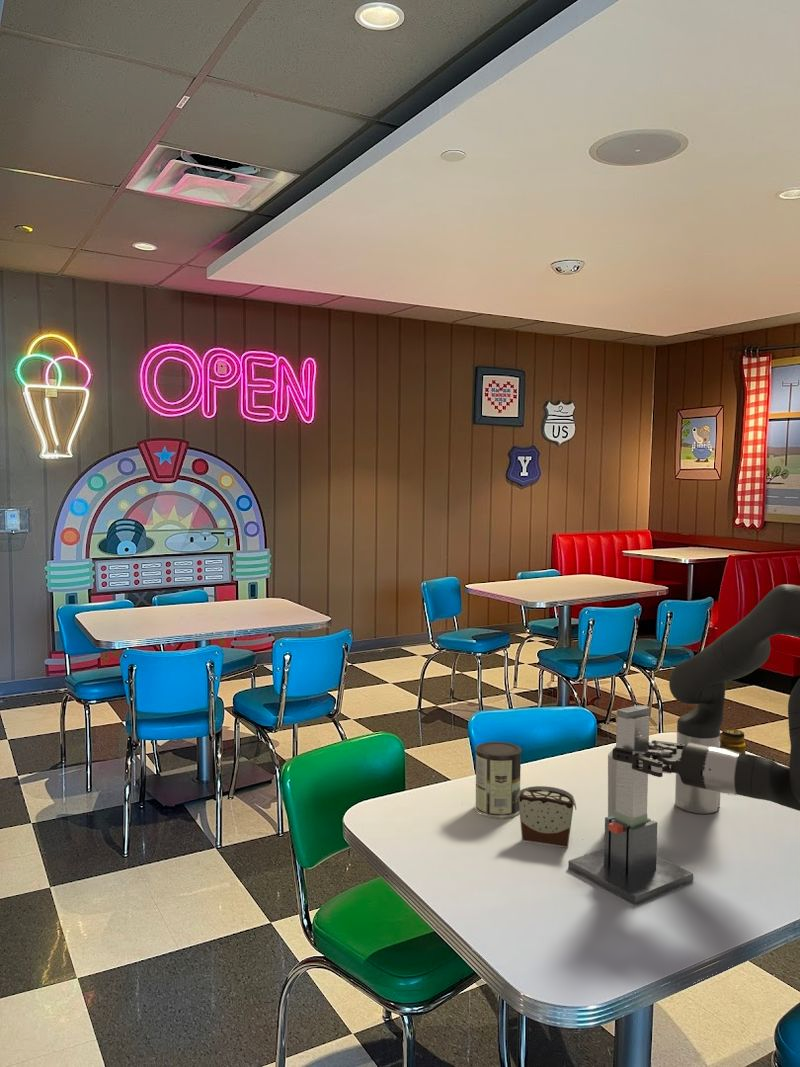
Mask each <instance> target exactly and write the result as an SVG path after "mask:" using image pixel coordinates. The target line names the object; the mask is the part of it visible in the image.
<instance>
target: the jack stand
mask: <svg viewBox="0 0 800 1067" xmlns="http://www.w3.org/2000/svg"><path fill="white" fill-rule="evenodd" d="M603 846H604V847H603V848H602V849H598V850H596V851H593V852H590V853H586V854H584V855H581V856H579V857H575V858H572V859H569V860H568V866H567V867H568V870H571V871H572V872H574V873H576V874H578V875H579V876H581V877H583V878H585V879H587V880H589V881H590V882H592V883H594V884H596V885H598V886H600V887H602V888H604V889H605V890H606V891H609V892H611V893H613V895H614V894H615V895H616V896H618V897H620V898H622V899H623V900H625V901H627V902H629V903H630V904H633V905H634V906H636V905H638V904H641V903H643V902H645V901H649V900H650V899H653V898H655V897H657V896H660V894H661V895H663V894H665V893H667V892H670V891H672V889H673V890H675V889H678V888H680V887H682V886H684V884H685V885H687V884H689V882H690V883H692V882H694V872H692V871H689V870H688V869H685V868H684V867H681V866H679V865H677V864H675V863H673V862H671V861H668V860H666V859H664V858H662V857H661V856H658V852H657V850H658V821H655V820H651V819H650V818H648V817H647V823H644V824H641V825H638V826H634V827H631V828H630V826H629V825H627V824H624V823H622V822H620V821H618V820H616V819H615V815H612V816H608V815H607V816H606V817H604V845H603ZM691 881H692V882H691ZM686 883H687V884H686ZM681 885H682V886H681ZM679 886H680V887H679ZM669 890H670V891H669Z"/></svg>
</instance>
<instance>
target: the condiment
mask: <svg viewBox="0 0 800 1067" xmlns="http://www.w3.org/2000/svg"><path fill="white" fill-rule="evenodd" d="M746 746H747V745H746V743H745V733H744V731H742V730H740V729H736V728H725V729H724V728H723V729H722V731H721V736H720V748H725V749H729V750H732V751H735V752H738V753H743V754H746V752H747V751H746Z"/></svg>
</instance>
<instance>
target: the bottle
mask: <svg viewBox="0 0 800 1067" xmlns="http://www.w3.org/2000/svg"><path fill="white" fill-rule="evenodd" d="M615 722H616V733H615V734H616V736H615V737H616V738H615V740H616V741H615V746H614V747H613V748H615V747H617V730H618V716H617V715H616V720H615ZM616 774H617V760H614V759H613V758H612V750H611V751H609V752H608V754H607V817H608V816H612V815H615V811H616Z"/></svg>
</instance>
